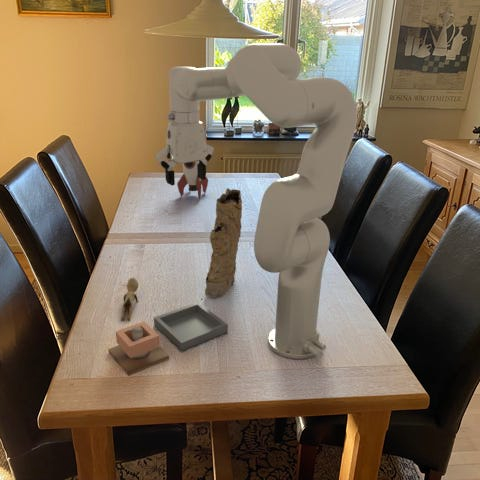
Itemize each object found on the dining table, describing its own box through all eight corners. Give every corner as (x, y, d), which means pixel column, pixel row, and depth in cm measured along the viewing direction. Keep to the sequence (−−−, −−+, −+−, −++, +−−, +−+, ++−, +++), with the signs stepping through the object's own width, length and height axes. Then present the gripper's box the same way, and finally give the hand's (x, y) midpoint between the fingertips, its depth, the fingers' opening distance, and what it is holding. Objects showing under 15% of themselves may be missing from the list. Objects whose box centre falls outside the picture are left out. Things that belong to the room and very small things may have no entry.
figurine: (133, 326, 126) (140, 287, 138) (131, 314, 123) (139, 274, 135) (119, 327, 125) (127, 287, 137) (116, 314, 123) (125, 275, 135)
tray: (227, 333, 120) (227, 324, 119) (181, 352, 113) (181, 342, 112) (198, 310, 130) (198, 301, 129) (154, 326, 122) (153, 317, 121)
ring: (159, 347, 110) (159, 335, 108) (130, 358, 106) (129, 346, 104) (144, 332, 115) (144, 321, 113) (116, 342, 111) (115, 331, 109)
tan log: (203, 282, 144) (202, 183, 132) (238, 281, 145) (241, 183, 133) (206, 307, 131) (205, 200, 119) (244, 305, 132) (248, 199, 121)
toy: (177, 197, 214) (175, 127, 202) (186, 190, 223) (185, 123, 211) (201, 200, 211) (200, 129, 199) (209, 193, 220) (209, 125, 208)
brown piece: (169, 359, 110) (168, 332, 108) (128, 376, 105) (125, 348, 102) (148, 337, 118) (146, 312, 115) (108, 352, 112) (106, 326, 109)
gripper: (162, 122, 120) (164, 190, 127) (220, 116, 129) (220, 179, 136) (147, 118, 125) (151, 182, 132) (205, 112, 135) (205, 173, 142)
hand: (186, 181), depth 134 cm, fingers open, 9 cm apart
